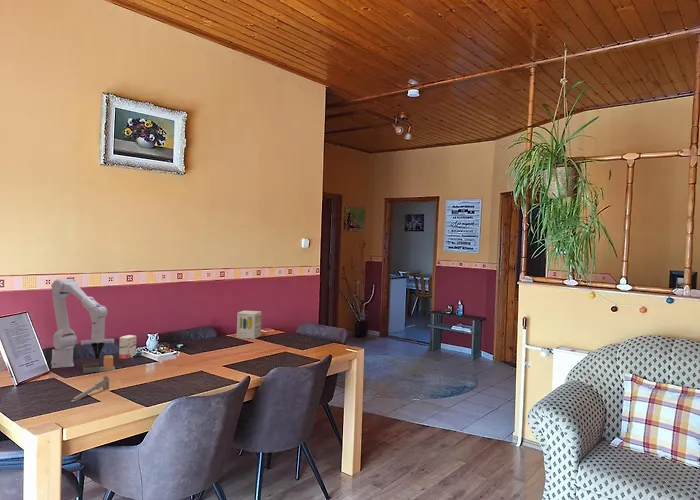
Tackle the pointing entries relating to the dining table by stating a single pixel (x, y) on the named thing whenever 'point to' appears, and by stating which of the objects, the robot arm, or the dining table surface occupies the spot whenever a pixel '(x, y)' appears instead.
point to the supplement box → (249, 324)
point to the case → (91, 368)
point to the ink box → (127, 346)
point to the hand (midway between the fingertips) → (97, 358)
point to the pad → (106, 370)
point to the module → (108, 362)
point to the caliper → (96, 386)
